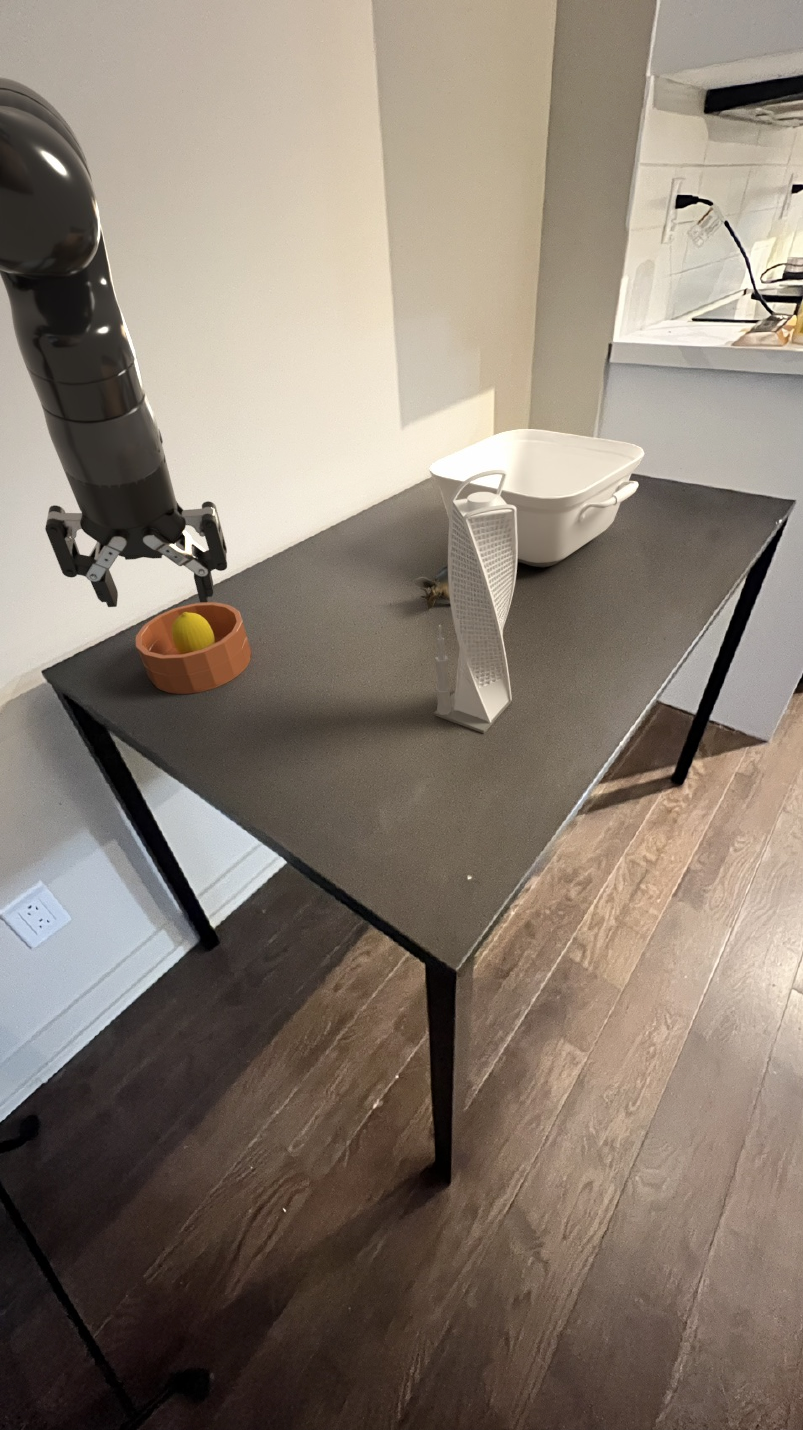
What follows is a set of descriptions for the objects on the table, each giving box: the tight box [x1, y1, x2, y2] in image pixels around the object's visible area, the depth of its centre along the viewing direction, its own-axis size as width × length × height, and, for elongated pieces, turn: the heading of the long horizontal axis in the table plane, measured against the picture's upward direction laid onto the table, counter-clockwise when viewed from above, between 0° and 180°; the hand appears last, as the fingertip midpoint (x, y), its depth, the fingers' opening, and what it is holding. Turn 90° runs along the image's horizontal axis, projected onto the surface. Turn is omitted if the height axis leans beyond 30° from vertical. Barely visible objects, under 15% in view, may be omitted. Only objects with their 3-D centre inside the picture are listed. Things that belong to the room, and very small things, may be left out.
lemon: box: [172, 612, 215, 654], centre depth 88 cm, size 6×6×8 cm
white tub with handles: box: [428, 428, 645, 568], centre depth 108 cm, size 34×29×15 cm
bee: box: [414, 565, 450, 611], centre depth 97 cm, size 8×7×9 cm
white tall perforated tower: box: [434, 470, 518, 734], centre depth 69 cm, size 8×8×28 cm
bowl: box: [135, 601, 252, 695], centre depth 89 cm, size 15×15×6 cm
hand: (159, 598), depth 62 cm, fingers open, 8 cm apart
